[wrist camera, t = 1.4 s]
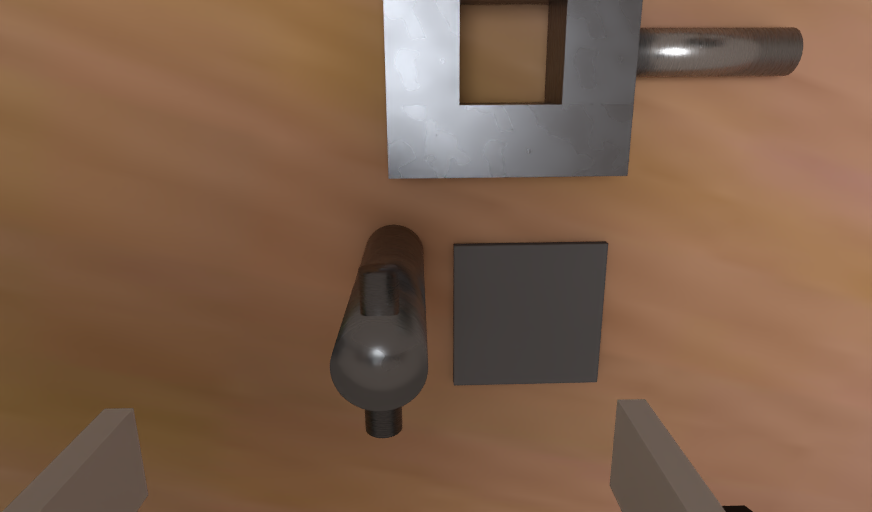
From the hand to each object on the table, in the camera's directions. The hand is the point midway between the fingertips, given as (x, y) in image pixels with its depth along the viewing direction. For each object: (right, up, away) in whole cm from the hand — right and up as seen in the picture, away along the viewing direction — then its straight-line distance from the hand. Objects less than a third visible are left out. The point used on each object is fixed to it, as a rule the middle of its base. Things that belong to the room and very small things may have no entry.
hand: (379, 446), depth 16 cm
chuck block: (+10, +16, +15) cm, 24 cm away
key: (-1, +5, +18) cm, 19 cm away
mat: (+7, +2, +20) cm, 21 cm away
